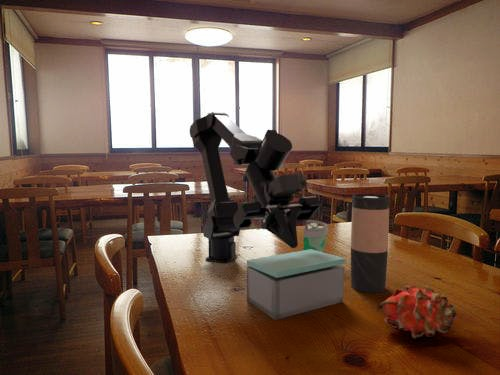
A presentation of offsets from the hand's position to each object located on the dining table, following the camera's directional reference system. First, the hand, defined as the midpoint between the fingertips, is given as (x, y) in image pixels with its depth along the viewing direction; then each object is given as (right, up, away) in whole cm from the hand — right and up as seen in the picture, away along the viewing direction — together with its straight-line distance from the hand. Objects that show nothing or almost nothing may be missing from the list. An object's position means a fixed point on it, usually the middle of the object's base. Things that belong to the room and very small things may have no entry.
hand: (295, 247), depth 75 cm
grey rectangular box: (0, -11, +1) cm, 11 cm away
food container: (+9, -8, +27) cm, 29 cm away
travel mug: (+17, -10, +9) cm, 21 cm away
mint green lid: (0, -3, 0) cm, 3 cm away
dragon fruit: (+18, -13, -12) cm, 25 cm away
